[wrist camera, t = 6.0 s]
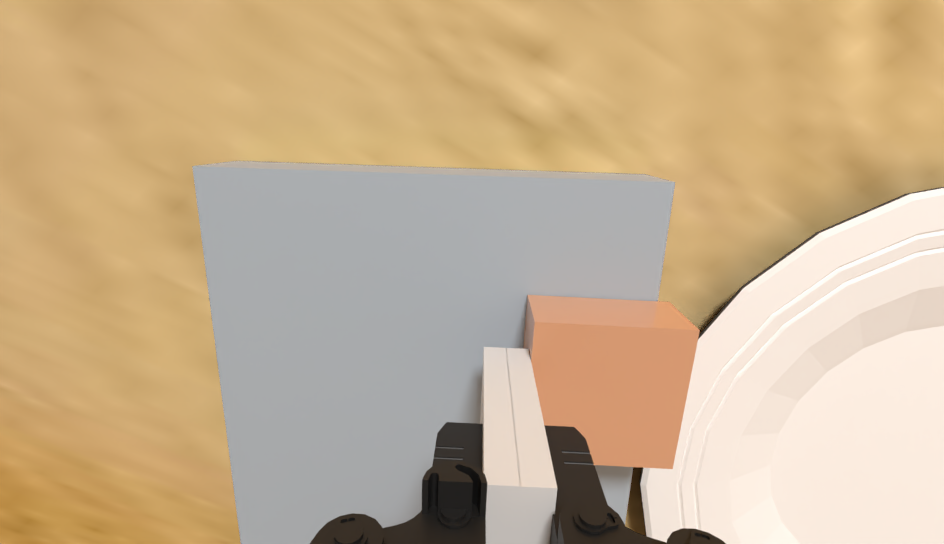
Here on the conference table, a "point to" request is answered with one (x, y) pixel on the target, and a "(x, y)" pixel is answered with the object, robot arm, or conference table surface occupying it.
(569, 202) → the board
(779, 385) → the plate
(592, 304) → the tile
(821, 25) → the conference table surface
